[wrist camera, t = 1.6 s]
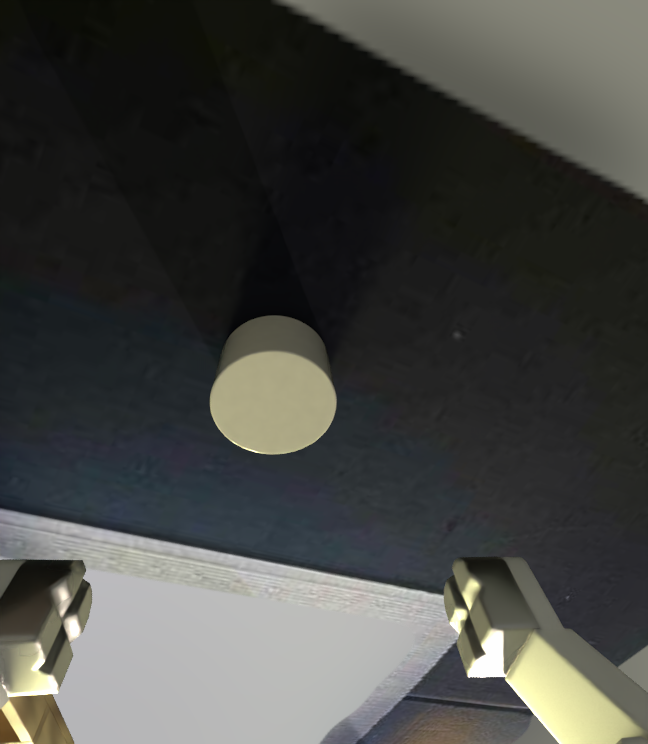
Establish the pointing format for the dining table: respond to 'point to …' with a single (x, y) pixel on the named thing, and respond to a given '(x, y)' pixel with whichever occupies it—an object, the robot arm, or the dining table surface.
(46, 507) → the dining table surface
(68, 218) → the dining table surface
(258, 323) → the white cylinder
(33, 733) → the board
